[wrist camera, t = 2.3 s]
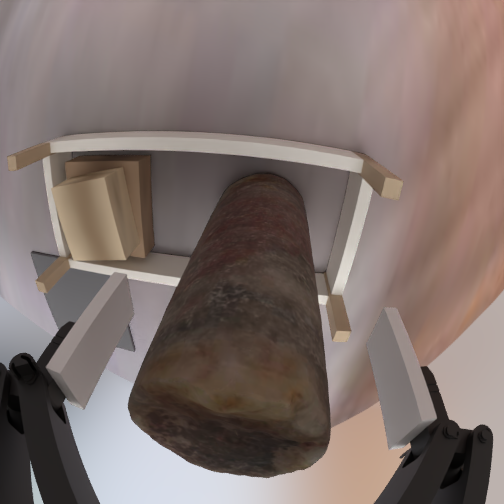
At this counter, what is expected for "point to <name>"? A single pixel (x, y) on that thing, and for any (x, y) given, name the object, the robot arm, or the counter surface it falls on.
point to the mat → (74, 294)
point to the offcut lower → (137, 186)
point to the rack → (171, 266)
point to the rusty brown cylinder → (242, 343)
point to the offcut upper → (97, 215)
